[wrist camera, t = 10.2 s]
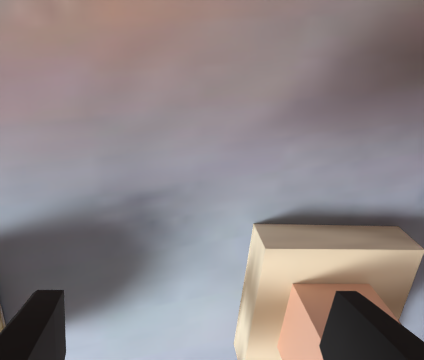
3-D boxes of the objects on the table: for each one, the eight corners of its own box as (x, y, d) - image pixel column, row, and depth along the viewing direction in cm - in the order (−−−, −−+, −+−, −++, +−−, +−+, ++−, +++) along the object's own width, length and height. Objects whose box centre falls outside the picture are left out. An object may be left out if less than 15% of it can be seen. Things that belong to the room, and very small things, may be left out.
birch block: (357, 334, 27) (380, 370, 25) (232, 338, 26) (241, 377, 23) (393, 222, 24) (424, 250, 21) (251, 219, 22) (265, 248, 20)
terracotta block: (348, 344, 23) (408, 447, 18) (277, 346, 22) (317, 454, 17) (369, 283, 22) (443, 377, 16) (292, 283, 21) (342, 382, 15)
